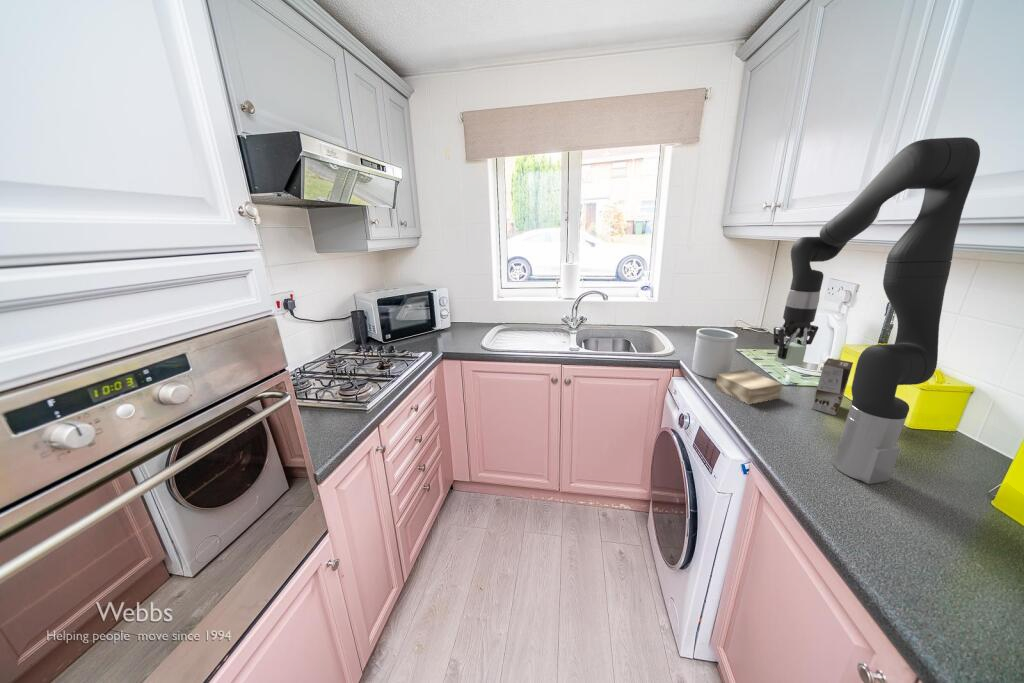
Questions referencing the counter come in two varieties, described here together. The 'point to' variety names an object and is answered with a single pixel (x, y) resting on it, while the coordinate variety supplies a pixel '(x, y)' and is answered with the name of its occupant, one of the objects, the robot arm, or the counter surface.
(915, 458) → the counter surface
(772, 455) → the counter surface
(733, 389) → the birch block
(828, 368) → the coffee box
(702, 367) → the utensil holder
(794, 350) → the sage block
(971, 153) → the robot arm
